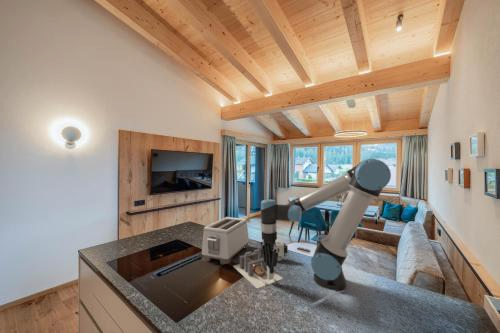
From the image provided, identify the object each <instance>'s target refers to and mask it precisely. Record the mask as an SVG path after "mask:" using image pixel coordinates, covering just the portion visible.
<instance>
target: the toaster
mask: <svg viewBox="0 0 500 333" xmlns="http://www.w3.org/2000/svg"><path fill="white" fill-rule="evenodd" d="M202 236H203V237H202V246H201V256H202V259H201V261H203V262H210V261H212V260H213V259H215V260H219V264H220V265H226V264H227V265H228V264H230V263H232V259H233V257H235V256H236V255H238V253H239V252H240V251H242V250H243V249H246V248H247V247H248V246H249V247H250V245H249V243H250V240H249V230H248V220H247V218H240V217H231V216H225V217H224V218H222V219H219V220H217V221H214V222H212V223H210V224H208V225H206V226H204V227H203V235H202ZM244 247H245V248H244ZM249 247H248V248H249ZM248 248H247V249H248Z"/></svg>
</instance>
